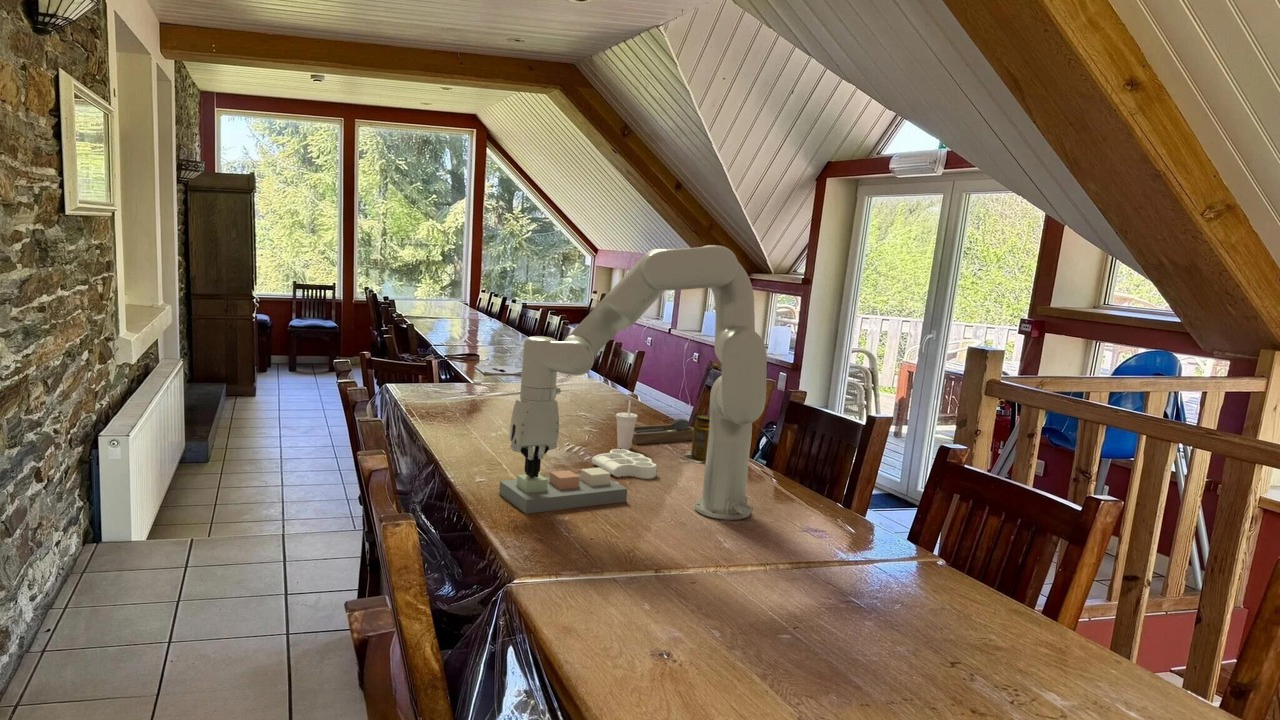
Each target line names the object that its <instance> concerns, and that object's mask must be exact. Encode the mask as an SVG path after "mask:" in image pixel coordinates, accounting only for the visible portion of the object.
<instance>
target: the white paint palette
mask: <svg viewBox="0 0 1280 720" xmlns="http://www.w3.org/2000/svg"><path fill="white" fill-rule="evenodd" d="M591 463H592V464H593V465H595V466H597V467H598V468H599V467H600V468H602V469H603V470H605V471H607V472H609V473H610V475H613V477H616V478H621V476H623V477H634V476H635V477H634V478H639V479H654V478H655V477H656V475H657V464H656V463H654V462H653V460H652V458H650V457H647V456H645V455H644V454H641V453H638V452H634V451H631V450H630V449H620V448H612V449H611V450H609V452H606V453H599V454H597V455H594V456H593V457H592V458H591Z"/></svg>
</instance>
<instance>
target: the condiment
mask: <svg viewBox="0 0 1280 720" xmlns="http://www.w3.org/2000/svg"><path fill="white" fill-rule="evenodd" d="M709 423H710V415H705V414H700V415H696V417H695V423H694V425H693V428H694V430H693V440H691V441H692V442H691V451H690V452H691V453H690V454H686V455H680V456H679V457H680V458H682V459H685V460H688V461H690V462H693V463H697V464H701V463H706V454H707V444H708V435H709Z"/></svg>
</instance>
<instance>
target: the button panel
mask: <svg viewBox="0 0 1280 720" xmlns="http://www.w3.org/2000/svg"><path fill="white" fill-rule="evenodd" d="M576 474H577V475H578V476H580V475H581V472H580V473H579V472H578V473H576ZM544 477H545V478H546V479H548V484H547V491H542V492H533V493H524V492H523V491H522V490H520V489H519V488H517V478H514V479H507V480H500V481H499V492H498V494H499V495H500V496H501V497H502V498H503V499H506V501H508V502H510V503H511V504H512V505H513V506H515V507H516V508H517V509H518V510H520V511H522V512H523V513H524V514H526V515H528V514H536V513H542V512H543V513H544V512H545V513H546V512H551V511H553V512H554V511H560V510H569V509H577V508H585V507H592V506H594V507H595V506H600V505H608V504H609V505H610V504H616V503H617V504H618V503H627V497H628V488H627V487H625V486H623V485H621V484H619V483H618V482H616V481H614V480H612V479H611V478H610V484H608V485H599V486H589V485H587V484H585V483H584V482H582V481H580V482H579V488H570V489H561V490H558V489H557V488H555V487H554V486H552V485H551V484H549V477H550V475H549V476H544Z"/></svg>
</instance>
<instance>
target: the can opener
mask: <svg viewBox="0 0 1280 720" xmlns="http://www.w3.org/2000/svg"><path fill="white" fill-rule="evenodd" d="M670 424H671V429H674V430H668V431H678V430H683V429H686V428H688V427H689V426H690V421H688V420H687V419H684V418H678V419H675V420H673V422H672V423H670ZM634 432H636V433H649V432H664V429H651V430H638V431H634Z"/></svg>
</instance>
